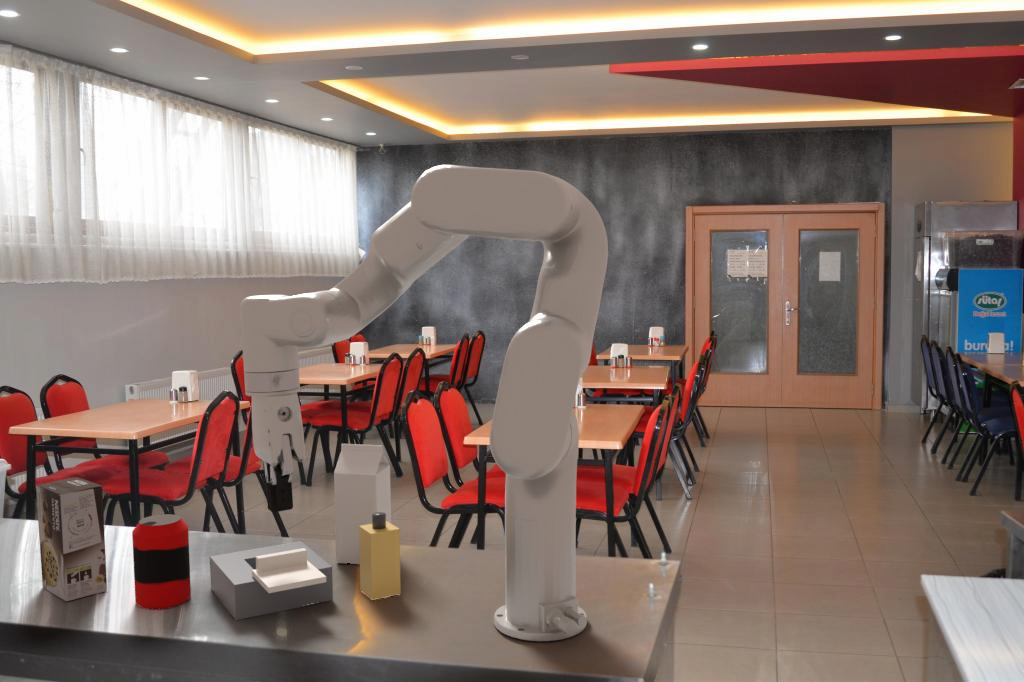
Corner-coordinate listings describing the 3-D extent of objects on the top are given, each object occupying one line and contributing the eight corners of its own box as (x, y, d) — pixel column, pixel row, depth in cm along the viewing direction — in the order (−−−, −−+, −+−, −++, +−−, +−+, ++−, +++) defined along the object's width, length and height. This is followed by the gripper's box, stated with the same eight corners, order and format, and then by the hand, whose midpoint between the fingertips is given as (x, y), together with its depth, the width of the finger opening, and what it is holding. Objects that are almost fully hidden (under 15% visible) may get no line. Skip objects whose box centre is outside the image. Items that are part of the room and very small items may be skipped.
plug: (400, 595, 138) (399, 515, 137) (372, 601, 136) (370, 520, 135) (388, 585, 142) (386, 508, 141) (360, 591, 140) (358, 512, 139)
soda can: (123, 606, 135) (119, 524, 133) (161, 588, 142) (158, 510, 140) (165, 613, 132) (162, 530, 131) (202, 594, 139) (199, 515, 138)
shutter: (326, 582, 129) (325, 562, 129) (268, 593, 125) (268, 572, 125) (307, 565, 136) (306, 546, 136) (251, 575, 132) (251, 556, 132)
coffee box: (109, 591, 140) (104, 485, 139) (65, 603, 136) (59, 493, 134) (83, 576, 147) (78, 475, 145) (40, 587, 142) (34, 483, 140)
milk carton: (377, 566, 151) (375, 450, 149) (335, 563, 152) (333, 448, 150) (391, 552, 158) (389, 441, 156) (351, 549, 159) (349, 439, 157)
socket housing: (332, 600, 136) (332, 566, 136) (235, 620, 129) (234, 584, 129) (301, 571, 148) (300, 541, 148) (210, 588, 141) (209, 556, 141)
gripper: (315, 384, 128) (323, 516, 130) (282, 375, 141) (289, 495, 143) (261, 390, 124) (270, 526, 126) (231, 380, 137) (240, 503, 139)
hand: (280, 509), depth 134 cm, fingers closed
